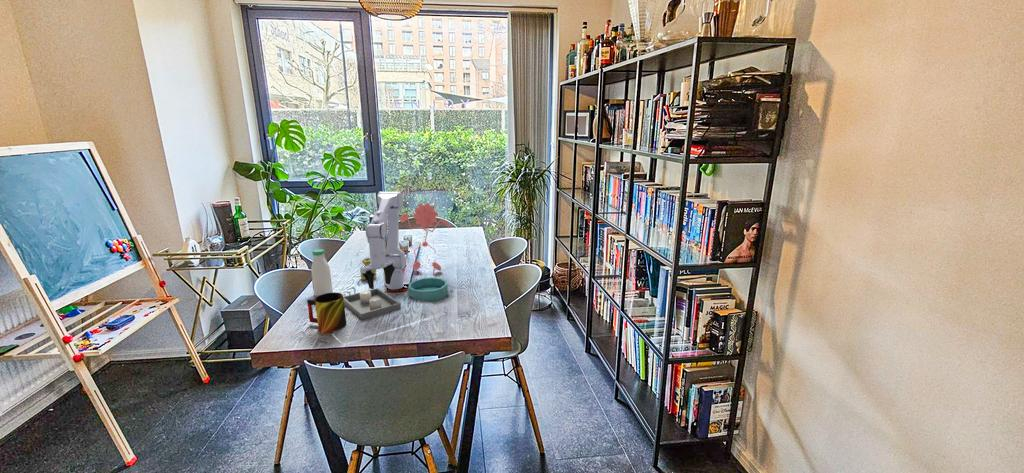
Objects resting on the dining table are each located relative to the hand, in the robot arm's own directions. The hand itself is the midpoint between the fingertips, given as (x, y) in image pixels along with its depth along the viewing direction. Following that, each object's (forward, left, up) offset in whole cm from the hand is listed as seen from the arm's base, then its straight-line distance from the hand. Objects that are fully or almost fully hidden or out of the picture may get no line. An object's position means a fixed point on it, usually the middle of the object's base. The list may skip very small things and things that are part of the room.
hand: (379, 286), depth 176 cm
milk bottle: (-32, -13, -10) cm, 36 cm away
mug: (+4, -23, -10) cm, 25 cm away
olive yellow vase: (-38, +10, -10) cm, 40 cm away
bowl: (-1, +22, -9) cm, 24 cm away
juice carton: (-69, +30, -10) cm, 76 cm away
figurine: (-29, +38, -10) cm, 49 cm away
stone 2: (+1, -3, -9) cm, 9 cm away
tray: (-4, -3, -9) cm, 11 cm away
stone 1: (-9, -3, -9) cm, 13 cm away
